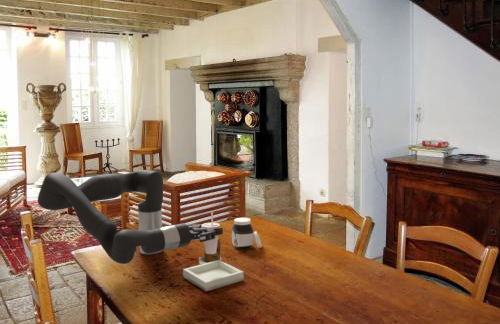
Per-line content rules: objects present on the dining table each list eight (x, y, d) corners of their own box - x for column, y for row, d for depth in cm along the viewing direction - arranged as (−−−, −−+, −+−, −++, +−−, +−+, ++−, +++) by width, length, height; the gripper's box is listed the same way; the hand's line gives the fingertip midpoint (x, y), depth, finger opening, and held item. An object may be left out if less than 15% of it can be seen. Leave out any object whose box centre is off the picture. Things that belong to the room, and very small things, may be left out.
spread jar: (229, 244, 200) (229, 217, 199) (253, 241, 205) (253, 214, 203) (241, 253, 190) (240, 225, 188) (266, 249, 194) (266, 221, 193)
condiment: (222, 263, 179) (221, 232, 177) (199, 264, 178) (198, 233, 176) (220, 256, 186) (220, 227, 184) (198, 257, 185) (198, 228, 183)
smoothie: (217, 256, 158) (217, 215, 156) (199, 254, 159) (198, 214, 158) (222, 250, 164) (222, 210, 162) (204, 248, 166) (204, 209, 164)
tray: (183, 277, 165) (183, 269, 165) (219, 267, 174) (219, 259, 174) (206, 291, 153) (206, 282, 153) (243, 280, 162) (243, 271, 162)
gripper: (163, 242, 158) (205, 234, 168) (184, 254, 147) (228, 244, 157) (162, 221, 157) (205, 213, 167) (183, 230, 146) (228, 222, 156)
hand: (216, 228), depth 162 cm, fingers closed on smoothie, 6 cm apart
